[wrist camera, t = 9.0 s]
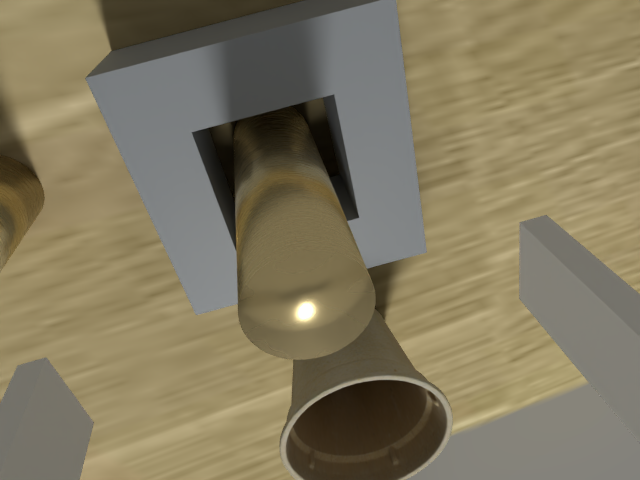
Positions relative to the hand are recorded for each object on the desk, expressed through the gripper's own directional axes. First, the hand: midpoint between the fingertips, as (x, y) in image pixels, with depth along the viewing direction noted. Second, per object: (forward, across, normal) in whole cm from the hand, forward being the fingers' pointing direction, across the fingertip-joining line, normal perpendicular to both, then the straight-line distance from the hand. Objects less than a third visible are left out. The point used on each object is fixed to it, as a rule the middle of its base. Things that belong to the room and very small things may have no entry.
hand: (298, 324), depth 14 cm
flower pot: (+15, +1, -14) cm, 21 cm away
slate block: (+15, +1, 0) cm, 15 cm away
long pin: (+15, +1, 0) cm, 15 cm away
